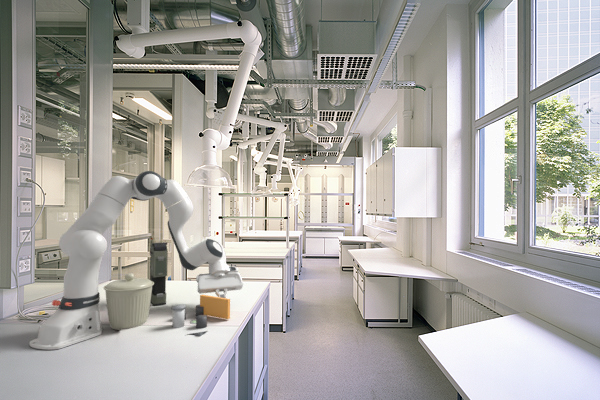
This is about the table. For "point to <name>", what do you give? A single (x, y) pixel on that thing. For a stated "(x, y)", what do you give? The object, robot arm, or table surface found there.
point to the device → (158, 273)
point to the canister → (128, 301)
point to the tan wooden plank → (213, 307)
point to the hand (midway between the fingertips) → (222, 299)
